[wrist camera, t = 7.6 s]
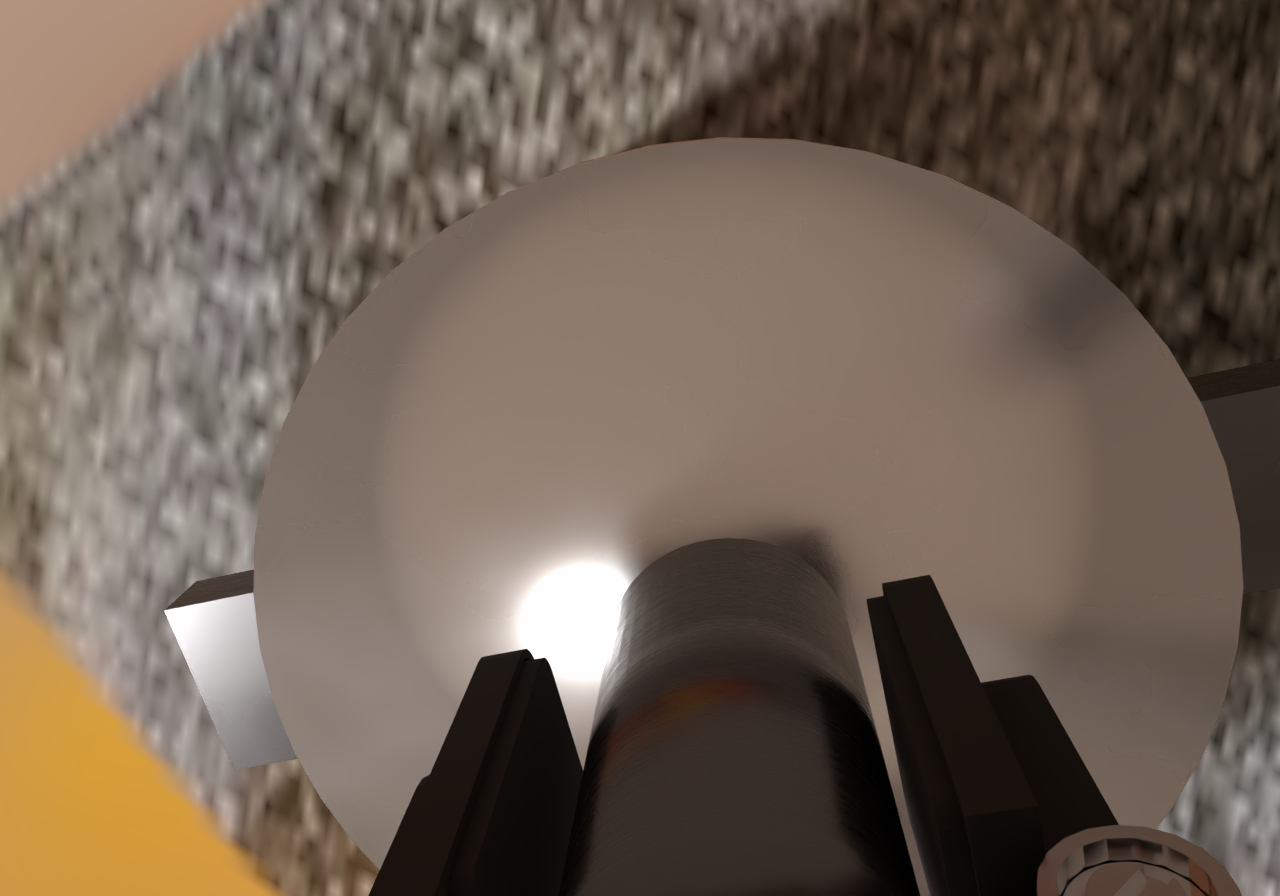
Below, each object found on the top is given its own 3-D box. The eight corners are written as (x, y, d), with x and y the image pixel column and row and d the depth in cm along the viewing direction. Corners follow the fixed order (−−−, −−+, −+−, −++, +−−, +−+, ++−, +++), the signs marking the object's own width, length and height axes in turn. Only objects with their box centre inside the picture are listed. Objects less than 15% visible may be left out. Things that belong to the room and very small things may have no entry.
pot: (1074, 53, 19) (1354, 8, 11) (1129, 589, 23) (1373, 869, 14) (283, 253, 22) (9, 344, 13) (444, 711, 25) (310, 1012, 17)
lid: (1226, 834, 16) (1639, 1416, 9) (480, 976, 18) (328, 1538, 11) (1092, -6, 12) (1626, -170, 5) (169, 297, 14) (-371, 479, 7)
